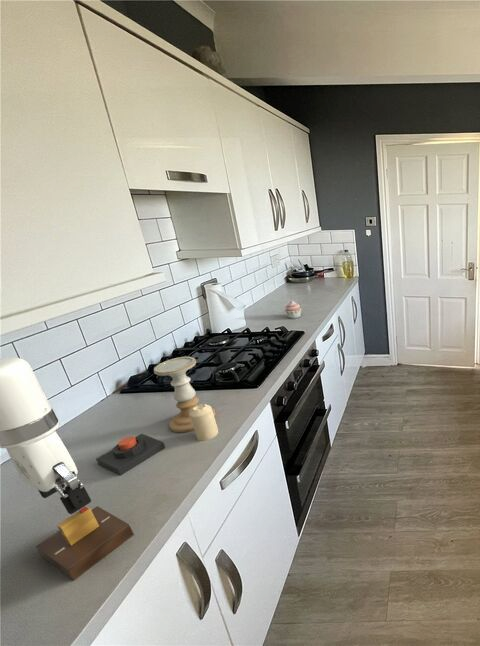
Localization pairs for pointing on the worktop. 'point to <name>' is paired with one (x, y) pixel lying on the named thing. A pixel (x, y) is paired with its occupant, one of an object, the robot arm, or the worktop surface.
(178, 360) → the candle holder
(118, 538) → the brown wooden base
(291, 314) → the cupcake
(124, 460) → the block
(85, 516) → the lock knob
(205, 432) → the candle
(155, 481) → the worktop surface
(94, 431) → the worktop surface
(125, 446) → the release button
